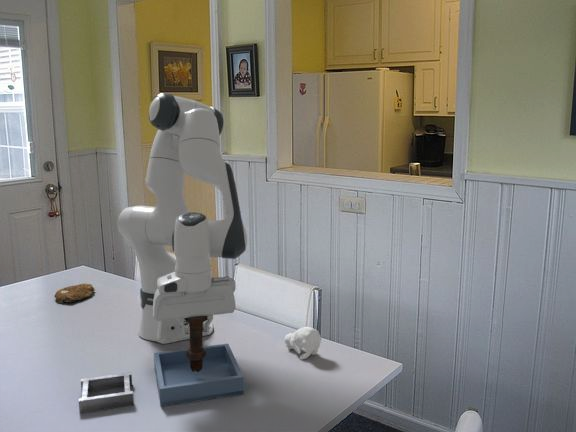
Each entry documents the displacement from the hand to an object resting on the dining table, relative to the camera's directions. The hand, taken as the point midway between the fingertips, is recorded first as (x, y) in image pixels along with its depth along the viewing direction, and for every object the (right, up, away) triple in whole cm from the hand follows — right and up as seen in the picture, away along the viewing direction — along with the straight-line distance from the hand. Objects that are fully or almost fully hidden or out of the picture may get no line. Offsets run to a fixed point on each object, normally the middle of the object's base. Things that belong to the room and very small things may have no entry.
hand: (195, 332), depth 143 cm
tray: (0, -13, +3) cm, 13 cm away
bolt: (0, -10, +2) cm, 10 cm away
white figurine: (+27, -10, +18) cm, 34 cm away
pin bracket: (-21, -15, -5) cm, 26 cm away
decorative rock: (-54, -1, +64) cm, 83 cm away
